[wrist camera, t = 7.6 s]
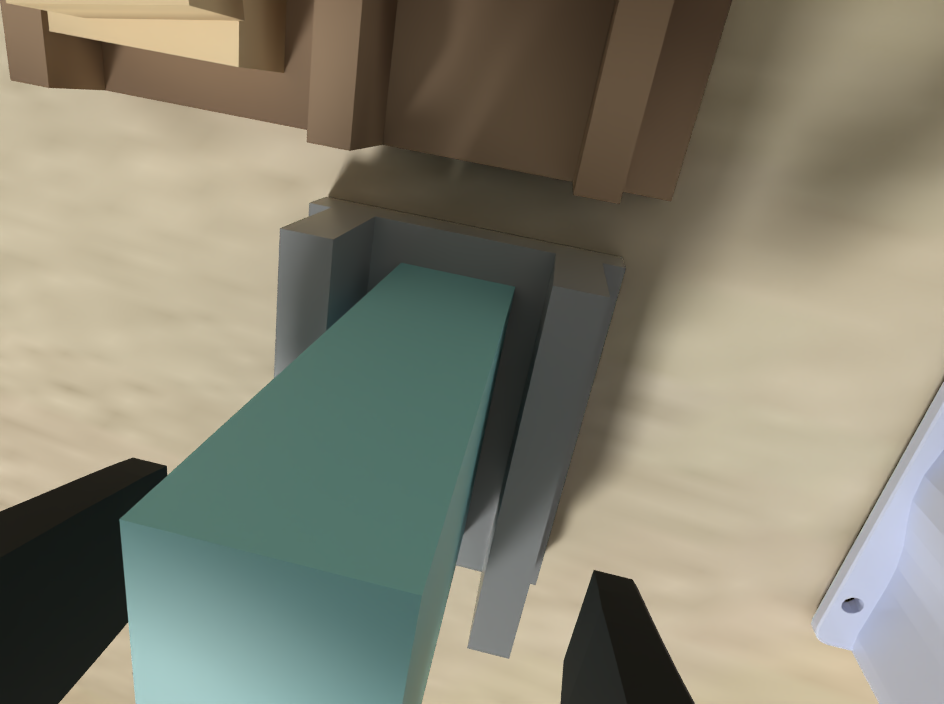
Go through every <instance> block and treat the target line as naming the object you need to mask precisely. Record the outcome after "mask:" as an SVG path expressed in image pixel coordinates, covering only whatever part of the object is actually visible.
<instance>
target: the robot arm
mask: <svg viewBox="0 0 944 704" xmlns="http://www.w3.org/2000/svg"><path fill="white" fill-rule="evenodd" d="M166 476H167V466H165V465H161V464H157V463H153V462H149V461H145V460H140V459H136V458H131V459H128V460H125V461H122V462H119V463H117V464H114V465H112V466H109V467H106V468H104V469H101V470H99V471H96V472H94V473H92V474H89V475H87V476H84V477H82V478H80V479H77V480H75V481H72V482H70V483H68V484H65V485H63V486H60V487H58V488H56V489H53V490H51V491H49V492H46V493H44V494H41V495H39V496H37V497H34V498H32V499H29V500H27V501H25V502H22V503H20V504H17V505H15V506H13V507H10V508H8V509H5V510H3V511H0V704H58V703H59V702H60V701H61V700H62V699H63V698H64V696H65V695H66V694H67V693H68V692H69V691H70V690H71V688H72V687H73V686H74V685H75V684H76V683H77V681H78V680H79V679H80V678H81V677H82V676H83V675H84V673H85V672H86V671H87V670H88V669H89V668H90V666H91V665H92V664H93V663H94V662H95V661H96V659H97V658H98V657H99V656H100V655H101V654H102V652H103V651H104V650H105V649H106V648H107V647H108V645H109V644H110V643H111V642H112V641H113V639H114V638H115V637H116V636H117V635H118V634H119V632H120V631H121V630H122V629H123V628H124V626H125V625H126V624H127V623H128V611H127V600H126V588H125V577H124V566H123V554H122V543H121V532H120V521H119V519H120V518H121V517H122V516H124V515H125V514H126V513H127V512H128V511H129V510H130V509H131V508H132V507H133V506H135V505H136V504H137V503H138V502H139V501H140V500H141V499H142V498H143V497H144V496H146V495H147V494H148V493H149V492H150V491H151V490H152V489H153V488H154V487H155V486H157V485H158V484H159V483H160V482H161V481H162V480H163V479H164V478H165V477H166ZM849 598H854V599H853V600H851V601H848V602H844V601H845V600H846V599H849ZM811 625H812V628H813V630H814V633H815V635H816V637H817V638H818V639H819V640H820V641H821V642H822V643H825V644H827V645H830V646H835V647H839V648H843V649H847V650H851V651H852V653H853V654H854V656H855V658H856V660H857V662H858V664H859V666H860V668H861V670H862V672H863V674H864V676H865V677H866V679H867V681H868V683H869V685H870V687H871V689H872V691H873V693H874V695H875V697H876V698H877V700H878V702H879V704H944V382H943V383H942V385H941V387H940V389H939V391H938V393H937V394H936V396H935V398H934V400H933V402H932V403H931V405H930V407H929V409H928V411H927V412H926V414H925V416H924V418H923V420H922V421H921V423H920V425H919V427H918V429H917V430H916V432H915V434H914V436H913V438H912V439H911V441H910V443H909V445H908V447H907V448H906V450H905V452H904V454H903V456H902V457H901V459H900V461H899V463H898V465H897V466H896V468H895V470H894V472H893V474H892V476H891V477H890V479H889V481H888V483H887V485H886V486H885V488H884V490H883V492H882V494H881V495H880V497H879V499H878V501H877V503H876V504H875V506H874V508H873V510H872V512H871V513H870V515H869V517H868V519H867V521H866V522H865V524H864V526H863V528H862V530H861V531H860V533H859V535H858V537H857V539H856V540H855V542H854V544H853V546H852V548H851V550H850V551H849V553H848V555H847V557H846V559H845V560H844V562H843V564H842V566H841V568H840V569H839V571H838V573H837V575H836V577H835V578H834V580H833V582H832V584H831V586H830V587H829V589H828V591H827V593H826V595H825V596H824V598H823V600H822V602H821V604H820V605H819V607H818V609H817V611H816V613H815V614H814V616H813V618H812V622H811ZM561 704H695V703H694V701H693V699H692V697H691V696H690V694H689V692H688V690H687V688H686V686H685V684H684V683H683V681H682V679H681V677H680V675H679V673H678V671H677V669H676V667H675V665H674V663H673V661H672V659H671V657H670V655H669V653H668V651H667V649H666V647H665V645H664V643H663V641H662V639H661V637H660V635H659V633H658V631H657V629H656V626H655V624H654V622H653V620H652V618H651V616H650V614H649V612H648V609H647V607H646V605H645V603H644V601H643V599H642V597H641V594H640V592H639V590H638V588H637V586H636V584H635V583H634V581H633V580H632V579H628V578H624V577H620V576H616V575H612V574H608V573H604V572H600V571H596V570H594V571H593V574H592V577H591V580H590V583H589V586H588V589H587V592H586V595H585V598H584V601H583V604H582V607H581V610H580V613H579V616H578V619H577V622H576V625H575V628H574V631H573V634H572V637H571V640H570V643H569V646H568V649H567V652H566V655H565V658H564V664H563V678H562V691H561Z"/></svg>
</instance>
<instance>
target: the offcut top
mask: <svg viewBox="0 0 944 704" xmlns="http://www.w3.org/2000/svg"><path fill="white" fill-rule="evenodd" d="M6 3H8V4H14V5H19V6H24V7H29V8H35V9H40V10H45V11H50V12H56V13H61V14H66V15H71V16H77V17H82V18H104V19H165V20H225V21H245V19H244V9H243V0H6Z"/></svg>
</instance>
